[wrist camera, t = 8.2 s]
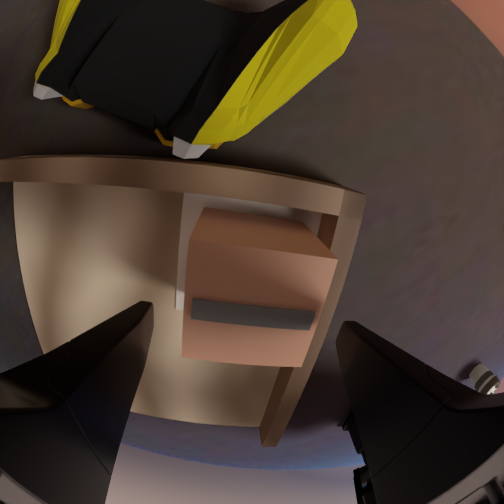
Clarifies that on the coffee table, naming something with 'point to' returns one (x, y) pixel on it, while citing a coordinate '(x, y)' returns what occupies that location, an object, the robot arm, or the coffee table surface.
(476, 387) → the coffee cup
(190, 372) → the arena
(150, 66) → the gaming controller
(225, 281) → the cube
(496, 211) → the coffee table surface
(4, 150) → the coffee table surface
